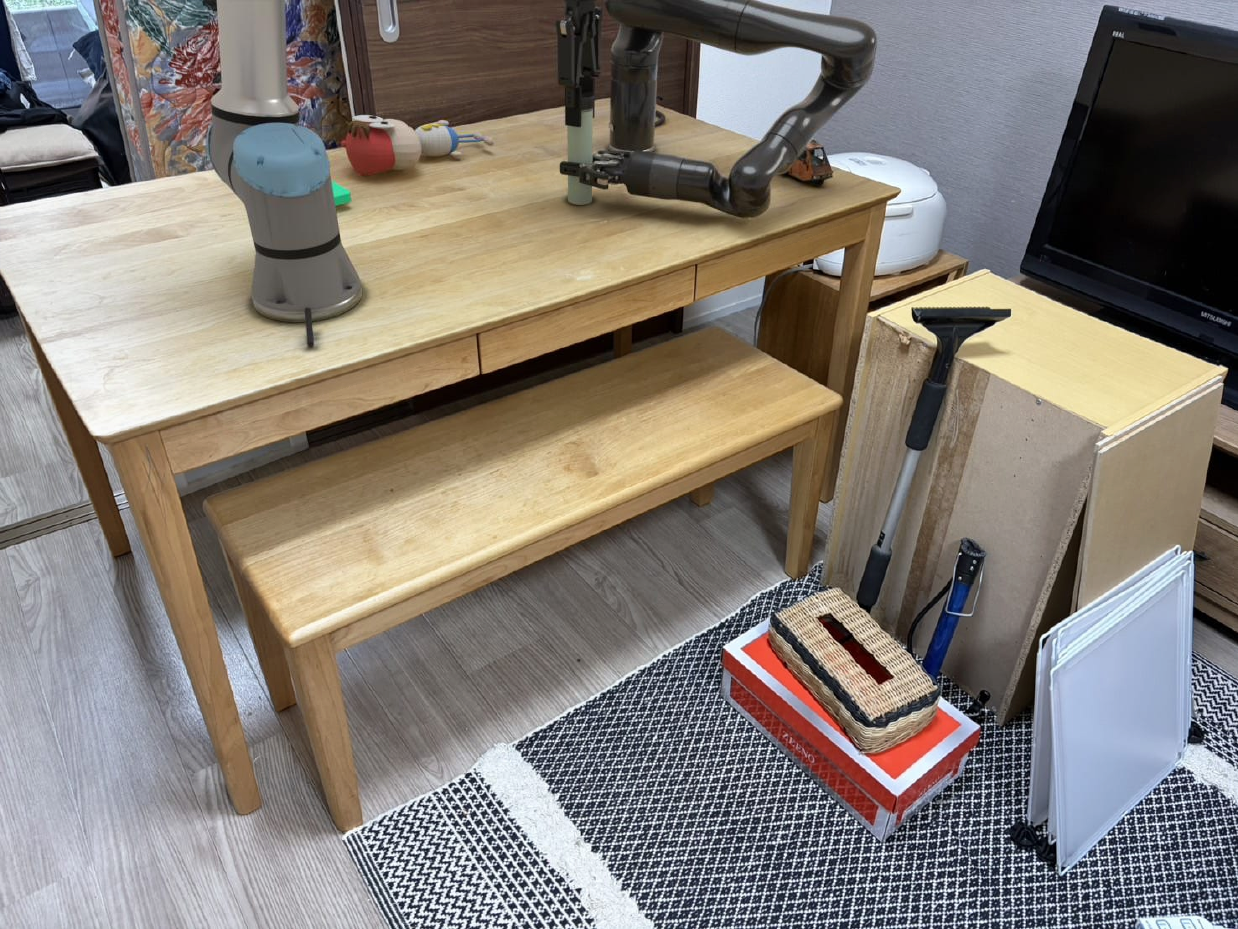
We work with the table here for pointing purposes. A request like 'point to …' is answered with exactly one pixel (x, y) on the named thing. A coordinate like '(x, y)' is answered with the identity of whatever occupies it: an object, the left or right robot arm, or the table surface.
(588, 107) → the lid
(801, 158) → the toy car
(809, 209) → the table surface
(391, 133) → the toy
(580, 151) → the jar
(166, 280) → the table surface
